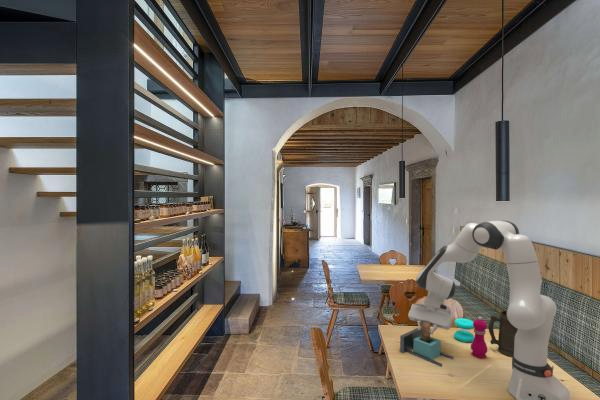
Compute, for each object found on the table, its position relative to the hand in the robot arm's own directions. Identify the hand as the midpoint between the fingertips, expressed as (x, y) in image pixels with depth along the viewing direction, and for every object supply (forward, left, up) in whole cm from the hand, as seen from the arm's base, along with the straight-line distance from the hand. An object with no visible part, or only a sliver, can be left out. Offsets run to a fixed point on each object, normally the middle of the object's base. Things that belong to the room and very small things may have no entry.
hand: (425, 331), depth 171 cm
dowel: (0, -1, -7) cm, 7 cm away
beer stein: (-23, -36, -12) cm, 44 cm away
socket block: (-1, -1, -11) cm, 11 cm away
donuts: (-3, -35, -12) cm, 37 cm away
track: (-1, -1, -12) cm, 12 cm away
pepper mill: (-17, -20, -12) cm, 29 cm away
